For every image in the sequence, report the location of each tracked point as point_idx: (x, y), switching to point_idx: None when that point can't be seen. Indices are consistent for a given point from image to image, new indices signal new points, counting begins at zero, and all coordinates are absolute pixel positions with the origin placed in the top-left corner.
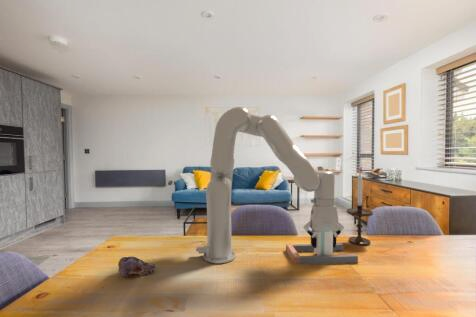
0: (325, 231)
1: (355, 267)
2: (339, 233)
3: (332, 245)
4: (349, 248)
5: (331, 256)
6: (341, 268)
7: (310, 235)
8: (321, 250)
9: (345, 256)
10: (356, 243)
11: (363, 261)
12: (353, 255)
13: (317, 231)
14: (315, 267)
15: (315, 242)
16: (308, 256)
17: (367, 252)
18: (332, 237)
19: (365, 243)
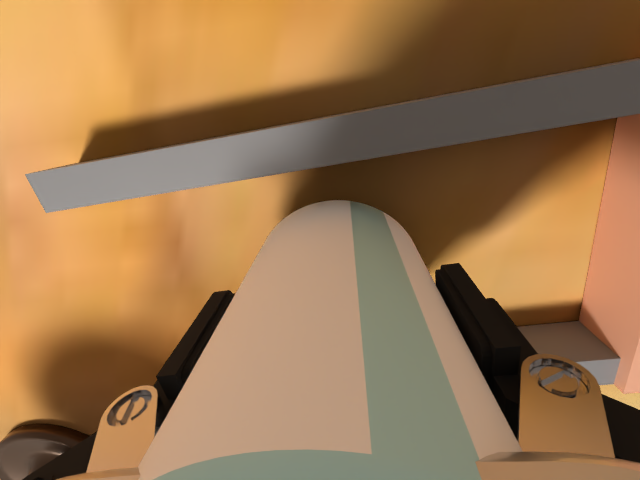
0: (342, 459)
1: (100, 61)
2: (51, 462)
3: (240, 285)
4: (128, 389)
5: (291, 139)
6: (228, 17)
7: (621, 403)
8: (382, 225)
9: (144, 154)
10: (75, 442)
11: (36, 195)
12: (67, 189)
13: (619, 469)
14: (487, 4)
15: (472, 300)
16: (568, 106)
17: (15, 341)
18: (198, 361)
19: (21, 442)
